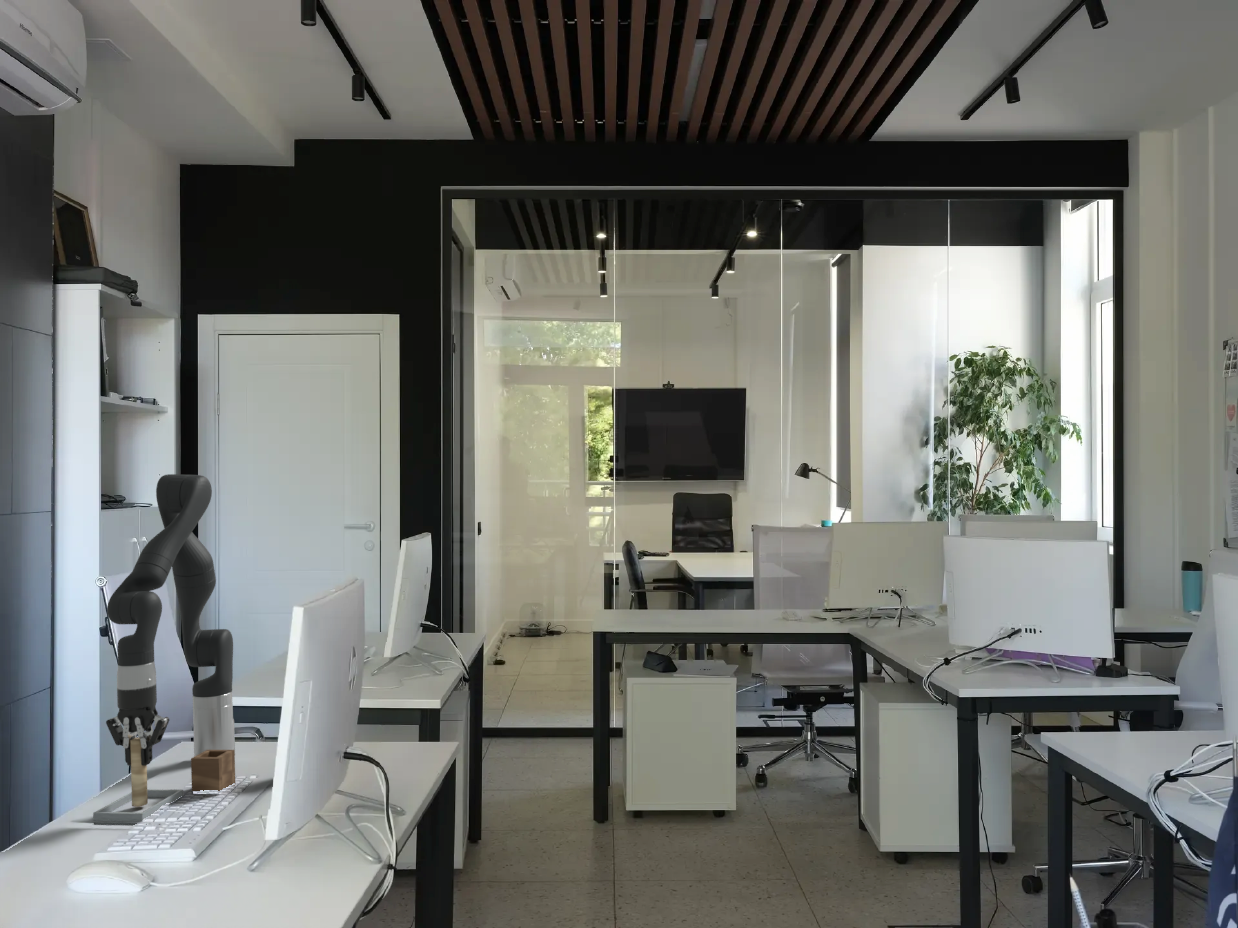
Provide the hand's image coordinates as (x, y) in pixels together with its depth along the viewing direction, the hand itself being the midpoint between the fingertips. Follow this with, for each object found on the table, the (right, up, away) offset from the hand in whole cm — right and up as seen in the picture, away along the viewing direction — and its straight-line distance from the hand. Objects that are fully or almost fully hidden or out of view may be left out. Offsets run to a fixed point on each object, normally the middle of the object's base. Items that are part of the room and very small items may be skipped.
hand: (138, 763), depth 199 cm
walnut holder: (+12, -10, +10) cm, 19 cm away
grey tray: (0, -10, 0) cm, 10 cm away
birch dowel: (0, -9, 0) cm, 9 cm away
